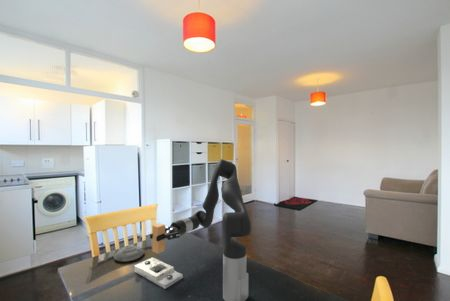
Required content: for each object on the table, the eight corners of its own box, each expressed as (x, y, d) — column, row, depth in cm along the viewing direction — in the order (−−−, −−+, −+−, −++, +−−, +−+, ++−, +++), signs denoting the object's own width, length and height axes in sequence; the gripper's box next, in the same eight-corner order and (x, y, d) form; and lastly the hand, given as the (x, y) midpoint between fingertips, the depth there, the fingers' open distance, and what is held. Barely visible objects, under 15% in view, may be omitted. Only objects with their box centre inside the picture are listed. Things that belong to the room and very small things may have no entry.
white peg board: (182, 277, 102) (182, 270, 102) (164, 289, 94) (164, 280, 94) (152, 263, 115) (152, 256, 115) (134, 271, 107) (134, 264, 107)
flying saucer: (150, 253, 125) (150, 243, 125) (128, 266, 112) (128, 255, 112) (130, 248, 132) (130, 239, 132) (107, 260, 118) (107, 249, 118)
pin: (165, 250, 105) (165, 224, 105) (157, 253, 102) (157, 227, 101) (159, 248, 107) (159, 223, 107) (152, 251, 104) (152, 225, 104)
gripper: (172, 217, 120) (144, 226, 106) (191, 222, 112) (163, 233, 98) (172, 231, 120) (144, 242, 106) (191, 237, 112) (163, 250, 98)
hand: (153, 237), depth 102 cm, fingers closed on pin, 4 cm apart
